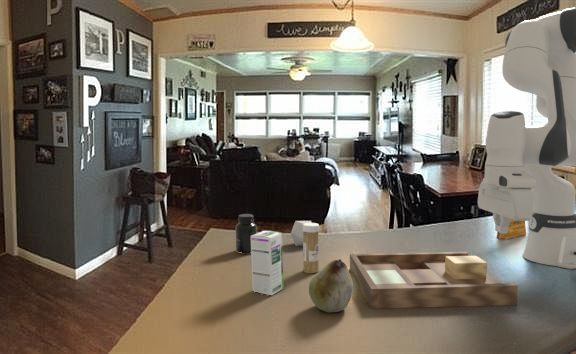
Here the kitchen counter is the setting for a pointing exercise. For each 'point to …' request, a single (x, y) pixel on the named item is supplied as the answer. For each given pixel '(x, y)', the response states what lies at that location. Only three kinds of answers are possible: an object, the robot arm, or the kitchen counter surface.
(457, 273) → the maple block
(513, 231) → the pancake mix bag
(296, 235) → the die
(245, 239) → the supplement bottle
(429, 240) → the kitchen counter surface
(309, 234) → the sprinkles bottle
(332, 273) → the fruit
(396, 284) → the box
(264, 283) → the syrup box
